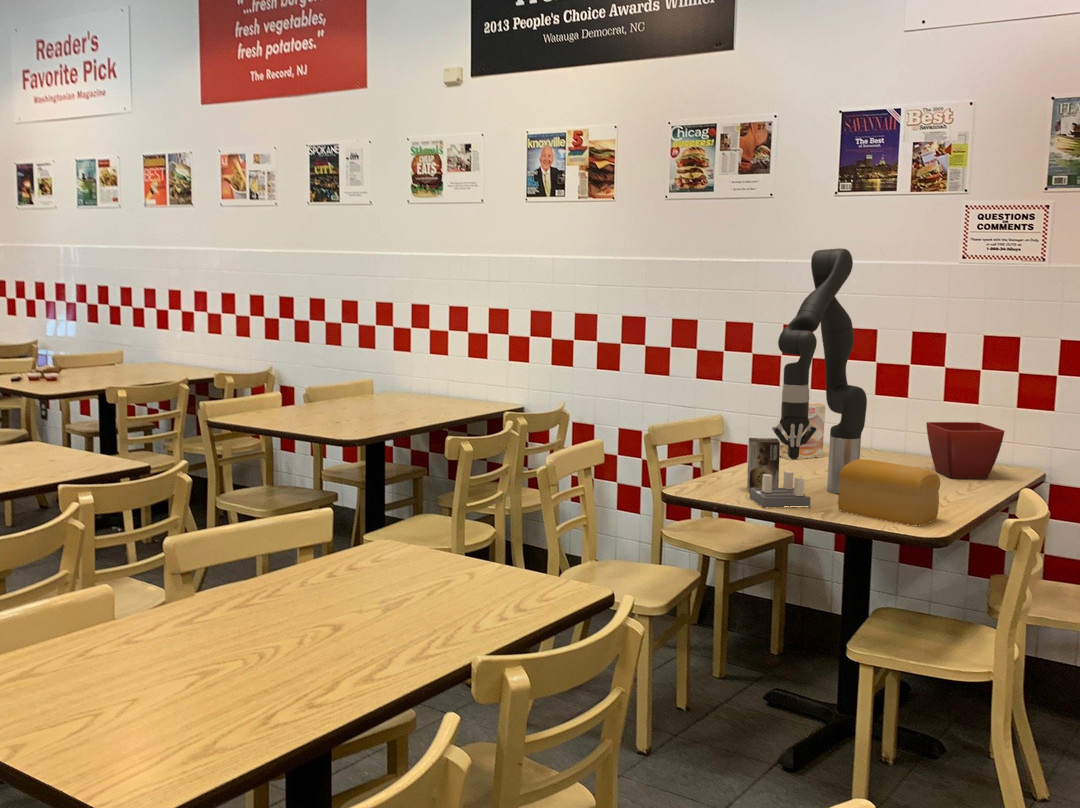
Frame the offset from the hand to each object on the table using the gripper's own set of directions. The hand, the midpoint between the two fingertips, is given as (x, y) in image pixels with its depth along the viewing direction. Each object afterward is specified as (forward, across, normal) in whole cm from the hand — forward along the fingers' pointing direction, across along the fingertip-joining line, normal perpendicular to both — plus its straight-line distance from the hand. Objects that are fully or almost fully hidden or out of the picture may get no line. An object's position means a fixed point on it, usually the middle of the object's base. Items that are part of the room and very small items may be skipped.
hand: (793, 458), depth 306 cm
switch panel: (+14, +2, -5) cm, 15 cm away
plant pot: (+16, -74, -41) cm, 86 cm away
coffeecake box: (+15, -30, -74) cm, 81 cm away
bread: (+15, -24, +12) cm, 30 cm away
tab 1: (+11, +6, -5) cm, 13 cm away
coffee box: (+14, +2, -21) cm, 25 cm away
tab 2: (+11, -2, -9) cm, 14 cm away
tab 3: (+11, -2, 0) cm, 11 cm away
